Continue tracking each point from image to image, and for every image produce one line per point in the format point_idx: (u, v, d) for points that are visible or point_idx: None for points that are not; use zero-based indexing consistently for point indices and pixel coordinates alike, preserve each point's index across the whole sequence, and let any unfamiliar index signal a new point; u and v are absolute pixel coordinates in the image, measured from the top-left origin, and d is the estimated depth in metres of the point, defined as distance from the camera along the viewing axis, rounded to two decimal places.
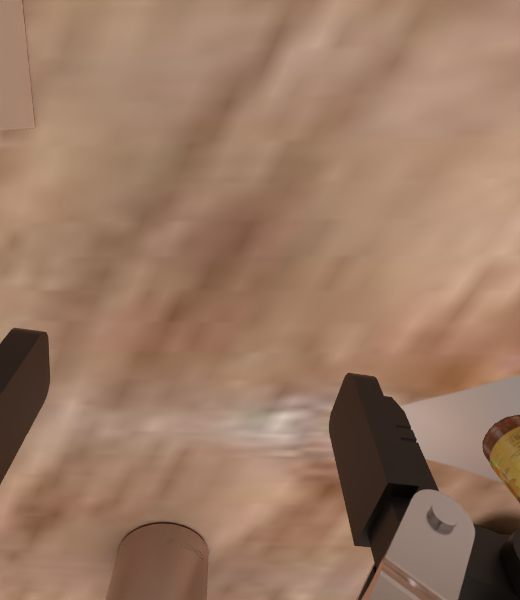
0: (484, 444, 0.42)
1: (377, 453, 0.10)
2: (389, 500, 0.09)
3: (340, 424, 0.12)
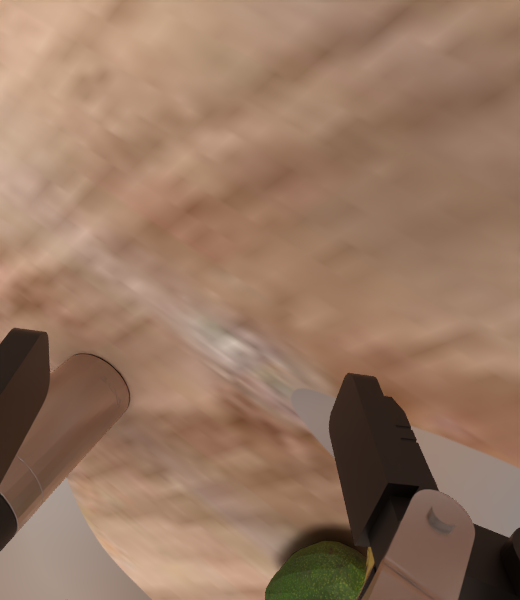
0: None
1: (377, 452, 0.10)
2: (389, 500, 0.09)
3: (340, 424, 0.12)
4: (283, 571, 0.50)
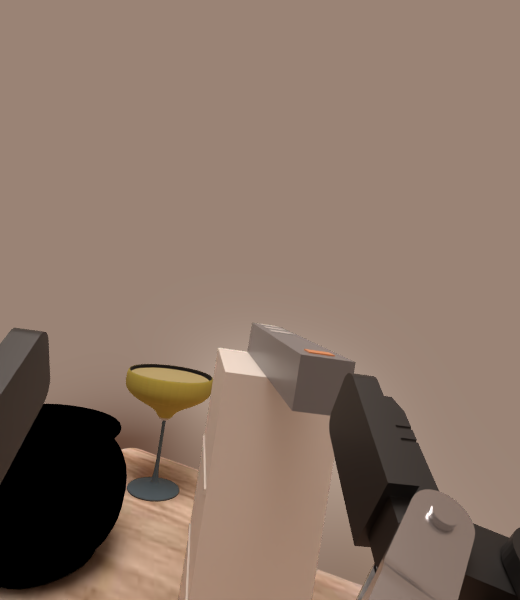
0: None
1: (377, 452, 0.10)
2: (389, 500, 0.09)
3: (340, 424, 0.12)
4: None
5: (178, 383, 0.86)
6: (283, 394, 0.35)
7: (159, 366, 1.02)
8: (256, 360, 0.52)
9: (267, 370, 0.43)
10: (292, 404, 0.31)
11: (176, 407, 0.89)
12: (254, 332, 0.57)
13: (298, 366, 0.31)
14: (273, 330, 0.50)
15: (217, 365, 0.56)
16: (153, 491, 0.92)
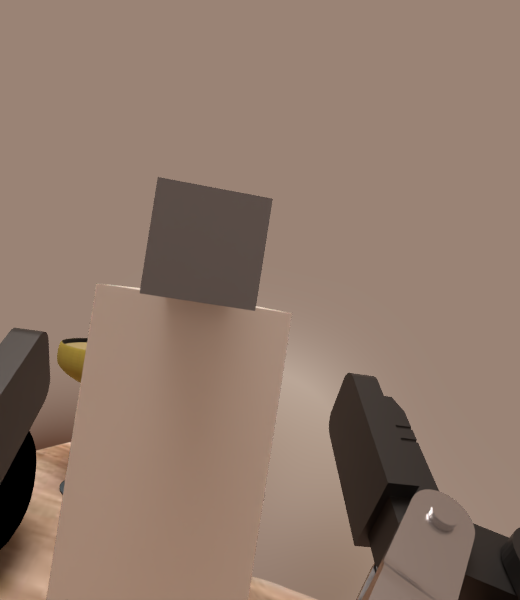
0: None
1: (377, 453, 0.10)
2: (389, 500, 0.09)
3: (340, 424, 0.12)
4: None
5: None
6: None
7: None
8: None
9: None
10: None
11: None
12: None
13: (154, 204, 0.15)
14: None
15: None
16: None
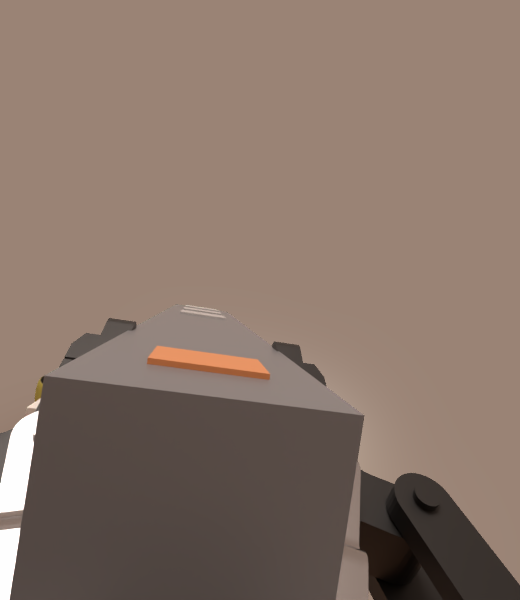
0: None
1: None
2: None
3: None
4: None
5: None
6: None
7: None
8: None
9: None
10: None
11: None
12: None
13: None
14: (188, 311, 0.25)
15: None
16: None
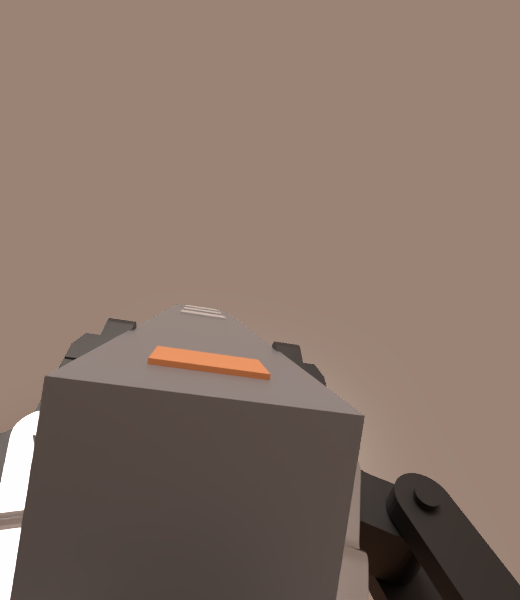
0: None
1: None
2: None
3: None
4: None
5: None
6: None
7: None
8: None
9: None
10: None
11: None
12: None
13: None
14: (188, 311, 0.25)
15: None
16: None
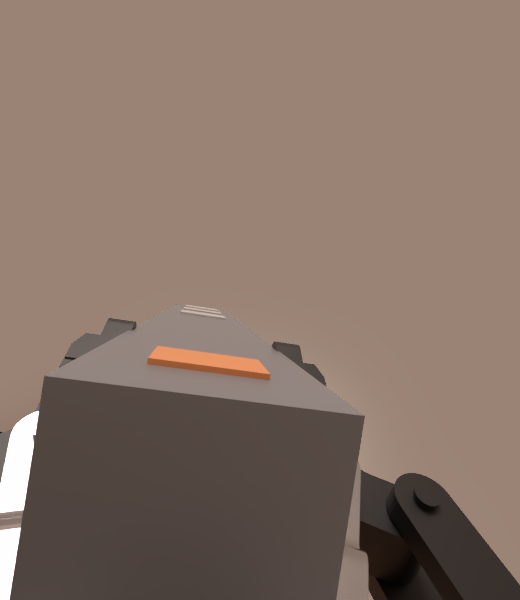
0: None
1: None
2: None
3: None
4: None
5: None
6: None
7: None
8: None
9: None
10: None
11: None
12: None
13: None
14: (188, 311, 0.25)
15: None
16: None
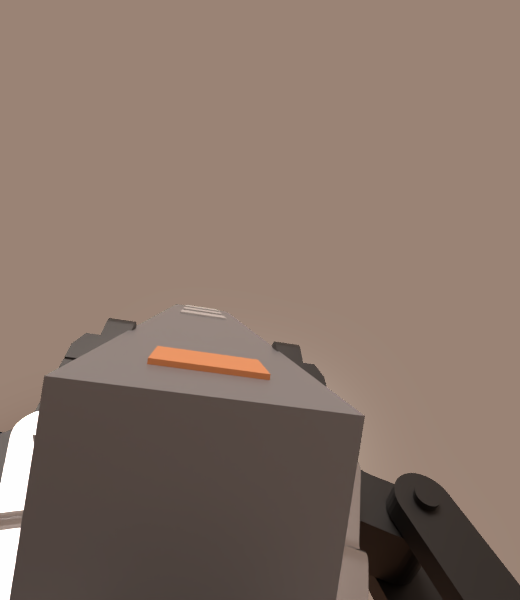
0: None
1: None
2: None
3: None
4: None
5: None
6: None
7: None
8: None
9: None
10: None
11: None
12: None
13: None
14: (188, 311, 0.25)
15: None
16: None
